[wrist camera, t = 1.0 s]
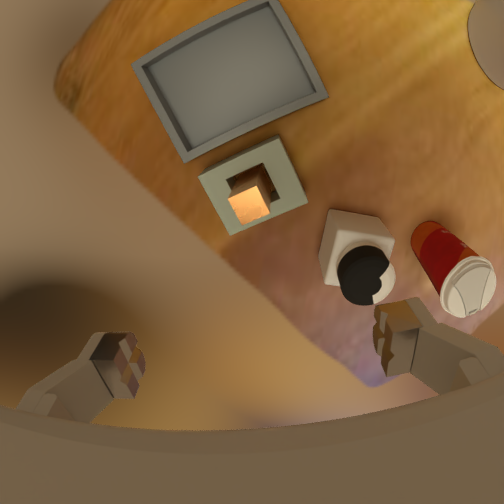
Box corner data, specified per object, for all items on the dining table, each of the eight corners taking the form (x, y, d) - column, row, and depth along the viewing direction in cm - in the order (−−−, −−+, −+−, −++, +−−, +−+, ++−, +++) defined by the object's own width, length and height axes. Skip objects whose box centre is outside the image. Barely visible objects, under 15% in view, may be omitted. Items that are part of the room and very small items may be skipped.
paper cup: (452, 252, 42) (498, 306, 29) (408, 269, 44) (445, 330, 31) (445, 205, 39) (500, 251, 26) (398, 223, 41) (442, 276, 28)
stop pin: (260, 164, 39) (256, 185, 30) (271, 185, 40) (270, 213, 31) (238, 174, 39) (227, 198, 30) (249, 195, 40) (241, 225, 32)
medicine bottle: (317, 256, 44) (329, 310, 33) (328, 207, 40) (347, 249, 30) (365, 263, 44) (389, 316, 33) (379, 216, 40) (411, 259, 30)
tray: (272, -2, 29) (272, -10, 26) (325, 97, 34) (329, 97, 31) (140, 65, 33) (130, 64, 31) (190, 158, 39) (184, 163, 36)
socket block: (278, 134, 37) (278, 138, 33) (305, 192, 40) (308, 202, 36) (204, 168, 39) (197, 176, 36) (234, 223, 42) (230, 235, 39)
